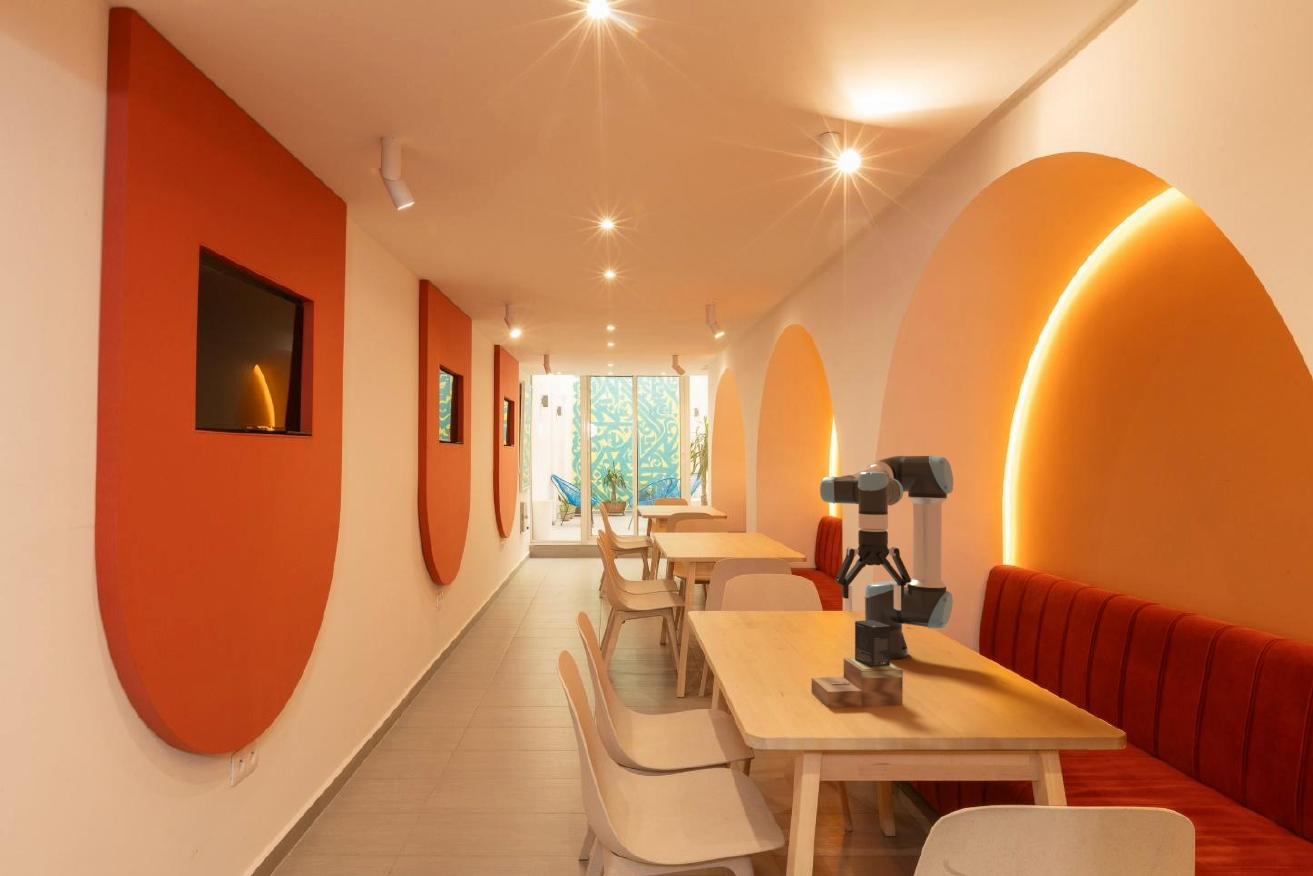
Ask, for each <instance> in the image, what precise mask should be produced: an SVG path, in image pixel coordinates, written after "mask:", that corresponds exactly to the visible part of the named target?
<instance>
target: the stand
mask: <svg viewBox="0 0 1313 876" xmlns="http://www.w3.org/2000/svg"><path fill="white" fill-rule="evenodd" d="M903 677H904V670H903V669H902V668H900V667H899V666H897V665H895V664H893V663H892V662H890V666H883V667H871V666H869V665H866V664H864V663H861V662H859V661H856V660H855V657H852V658H843V676H833V677H832V676H831V677H829V676H828V677H811V694H812V695H813V696H815V698H816V699H818V701H820V702H821V703H822V704H823V705H825V707H826V708H829V709H830V708H834V709H835V708H856V707H857V708H858V707H859V708H861V707H863V708H865V707H889V706H890V707H891V706H895V707H896V706H903V693H904V692H903V690H904V689H903V688H904V687H903V686H904V683H903Z"/></svg>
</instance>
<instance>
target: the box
mask: <svg viewBox="0 0 1313 876" xmlns="http://www.w3.org/2000/svg"><path fill="white" fill-rule="evenodd" d="M854 658H855V660H856V661H859V662H861V663H864V664H866V665H869V666H871V667H883V666H890V663H891V659H890V626H889V625H886V624H883V623H880V622H876V621H873V620H865V619H864V620H855V621H854Z"/></svg>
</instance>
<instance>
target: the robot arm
mask: <svg viewBox="0 0 1313 876" xmlns="http://www.w3.org/2000/svg"><path fill="white" fill-rule="evenodd" d="M953 490H954V476H953V471H952V468H951V464H950V462H949V461H948V459H947V458H945V457H944V456H940V455H939V456H938V455H895V456H889V457H886V458H883V459H879V460H876V461H873V462H871V463H869V464H868V465H867V466H866V468H863V469H859V470H857V471H855V472H852V473H848V474H845V475H842V476H826V477H823V478H822V479H821V482H820V485H819V493H820V498H821V500H822V501H823V502H825V503H830V504H847V505H848V504H849V505H851V504H852V505H858V529H859V530H858V536H857V538H858V539H857V540H858V547H857V548H852V547H847V548H846V554H845V557H844V560H843V561H842V563H841V567H840V568H839V570H838V573H837V574H836V577H835V579H834V582H835V583H836V584H839V585H841V596H842V598H843V599H844V606H845V607H844V610H845V611H847V612H849V613H850V612H853V586H852V585H851V583H852V582H853V581H854V580H855V578H856V577H857V576H858V575H859V573H860V572H861V571H862V570H863V569H864V568H865V567H866V566H882V567H883V568H884V569H885V570H886V571H887V572H888V574H889V575H890V576H891V578H892V579H893V580H886V581H885V580H884V581H875V582H871V583H869V584H867V585H866V587H865V594H864V620H873V621H876V622H880V623H883V624H886V625H889V626H890V660H897V659H904V658H906V657H908V655H909V654H908V653H909V652H908V649H909V648H908V645H907V642H906V639H905V636H904V633H903V624H904V625H909V626H918V627H923V628H928V629H943V628H945V627H947V624H948V623H949V620H950V618H951V614H952V609H953V601H954V600H953V594H952V593H951V591H949V590H948V591H947V584H945V582H944V581H943V580H942V521H943V520H942V512H943V511H942V508H943V503H944V502H946V501H947V499H948V494H950V493H952V492H953ZM904 492H906V493H907V495H908V497H907V498H908V499H909V500H910V502H912V504H913V505H912V511H913V512H912V578H911V577H910V575H909V573H908V570H907V568H906V567H905V563H904V562H903V560H902V557H901V553H900V552H901V551H900V548H898V547H896V546H895V547H891V548H888V544H889V533H888V531H887V530H888V528H889V521H888V520H889V518H888V517H889V515H888V514H889V511H888V509H889V508H888V507H889V506H893V505H895V504H897V503H899V502H900V501H901V500H902V499H903V496H904ZM857 555H858V556H859V558H858V559H857V560H856V562H855V564H854V565H853V564H852V563H853V562H854V558H855V557H856V556H857ZM889 555H890V556H891V558H892V560H893V562H894V564H895V566H896V569H897V570H896V569H895V568H894V567H893V565H892V564H891V563H890V562H889V560H888V559H887V558H888V556H889ZM852 565H853V567H851V566H852ZM850 568H851V569H850ZM849 569H850V570H849ZM897 571H898V572H897ZM906 586H907V587H906Z"/></svg>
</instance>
